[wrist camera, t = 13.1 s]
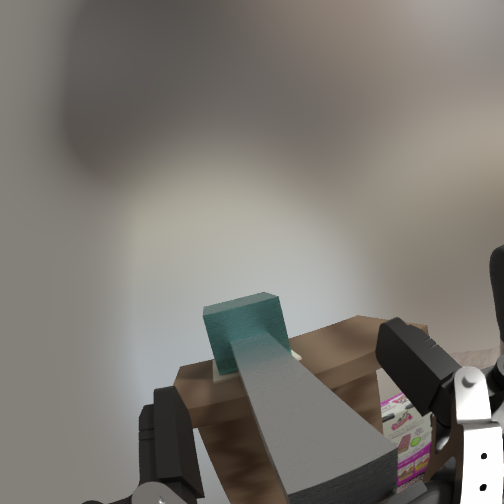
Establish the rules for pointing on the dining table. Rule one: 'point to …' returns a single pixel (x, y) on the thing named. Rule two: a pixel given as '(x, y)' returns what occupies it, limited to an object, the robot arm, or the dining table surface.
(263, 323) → the grey and teal bar
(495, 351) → the dining table surface
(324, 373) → the bracket shelf
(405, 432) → the candy bar box
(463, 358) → the dining table surface
